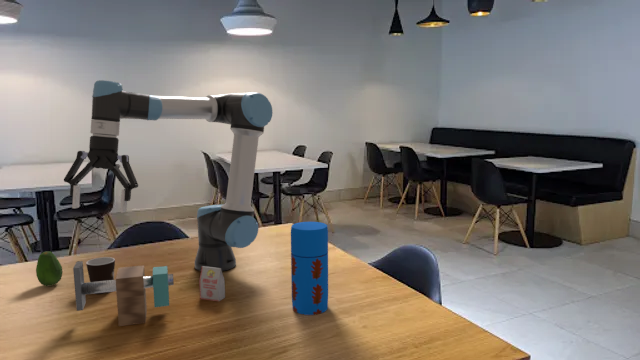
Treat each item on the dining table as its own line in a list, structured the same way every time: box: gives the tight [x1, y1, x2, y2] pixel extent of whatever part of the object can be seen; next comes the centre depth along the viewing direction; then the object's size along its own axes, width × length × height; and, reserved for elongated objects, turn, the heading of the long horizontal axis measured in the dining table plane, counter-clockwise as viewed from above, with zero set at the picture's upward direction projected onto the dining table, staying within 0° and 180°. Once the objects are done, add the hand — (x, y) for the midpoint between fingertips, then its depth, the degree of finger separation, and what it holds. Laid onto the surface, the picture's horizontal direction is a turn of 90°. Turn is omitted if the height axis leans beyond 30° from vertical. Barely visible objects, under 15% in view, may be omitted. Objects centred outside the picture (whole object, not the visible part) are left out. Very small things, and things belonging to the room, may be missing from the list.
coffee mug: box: [85, 256, 116, 295], centre depth 167 cm, size 12×9×10 cm
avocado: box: [35, 250, 63, 287], centre depth 170 cm, size 8×8×12 cm
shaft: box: [72, 260, 175, 312], centre depth 143 cm, size 26×6×12 cm, turn 107°
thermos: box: [290, 221, 329, 316], centre depth 149 cm, size 11×11×25 cm
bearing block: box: [115, 265, 148, 327], centre depth 144 cm, size 7×10×14 cm
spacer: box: [152, 265, 170, 308], centre depth 146 cm, size 4×7×10 cm, turn 17°
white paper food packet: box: [198, 266, 226, 302], centre depth 159 cm, size 4×7×10 cm, turn 70°
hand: (99, 210), depth 146 cm, fingers open, 13 cm apart
